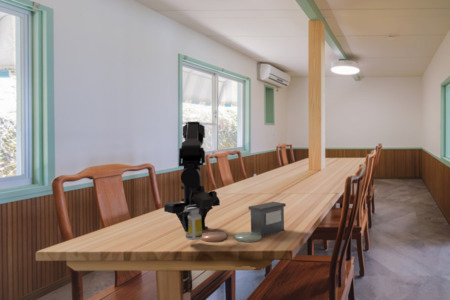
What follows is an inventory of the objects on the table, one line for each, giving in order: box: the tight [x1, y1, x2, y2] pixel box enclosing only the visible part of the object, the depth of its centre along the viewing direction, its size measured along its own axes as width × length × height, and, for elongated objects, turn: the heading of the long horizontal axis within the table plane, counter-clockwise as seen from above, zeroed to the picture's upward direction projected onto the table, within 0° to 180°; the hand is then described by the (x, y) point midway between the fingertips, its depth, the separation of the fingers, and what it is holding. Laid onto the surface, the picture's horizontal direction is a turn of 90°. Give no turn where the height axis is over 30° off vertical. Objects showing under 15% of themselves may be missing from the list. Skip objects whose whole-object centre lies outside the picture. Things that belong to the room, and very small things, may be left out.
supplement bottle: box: [185, 207, 203, 241], centre depth 122 cm, size 5×5×10 cm
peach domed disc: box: [199, 231, 227, 243], centre depth 129 cm, size 9×9×1 cm
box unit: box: [248, 201, 287, 238], centre depth 134 cm, size 6×13×10 cm, turn 131°
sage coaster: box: [234, 231, 262, 243], centre depth 127 cm, size 9×9×1 cm
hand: (193, 230), depth 122 cm, fingers closed on supplement bottle, 5 cm apart
